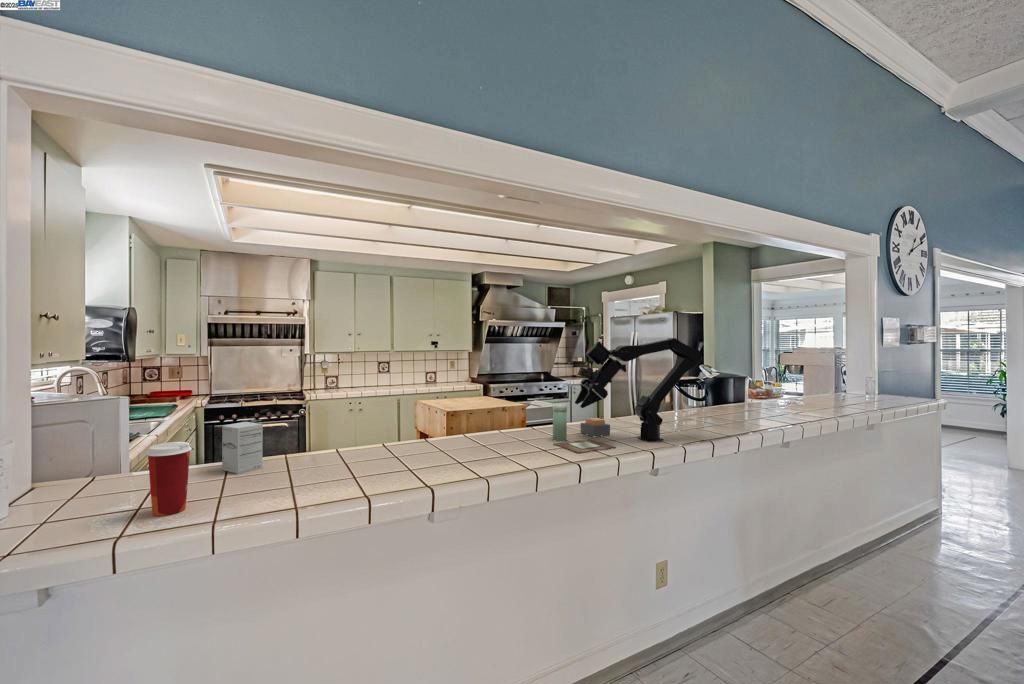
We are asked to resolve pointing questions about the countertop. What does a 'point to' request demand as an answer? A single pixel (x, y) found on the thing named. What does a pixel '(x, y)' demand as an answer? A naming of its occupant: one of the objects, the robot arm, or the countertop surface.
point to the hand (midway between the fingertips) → (578, 405)
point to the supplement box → (242, 447)
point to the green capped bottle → (560, 422)
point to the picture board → (584, 445)
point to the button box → (595, 429)
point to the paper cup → (168, 477)
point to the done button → (595, 421)
